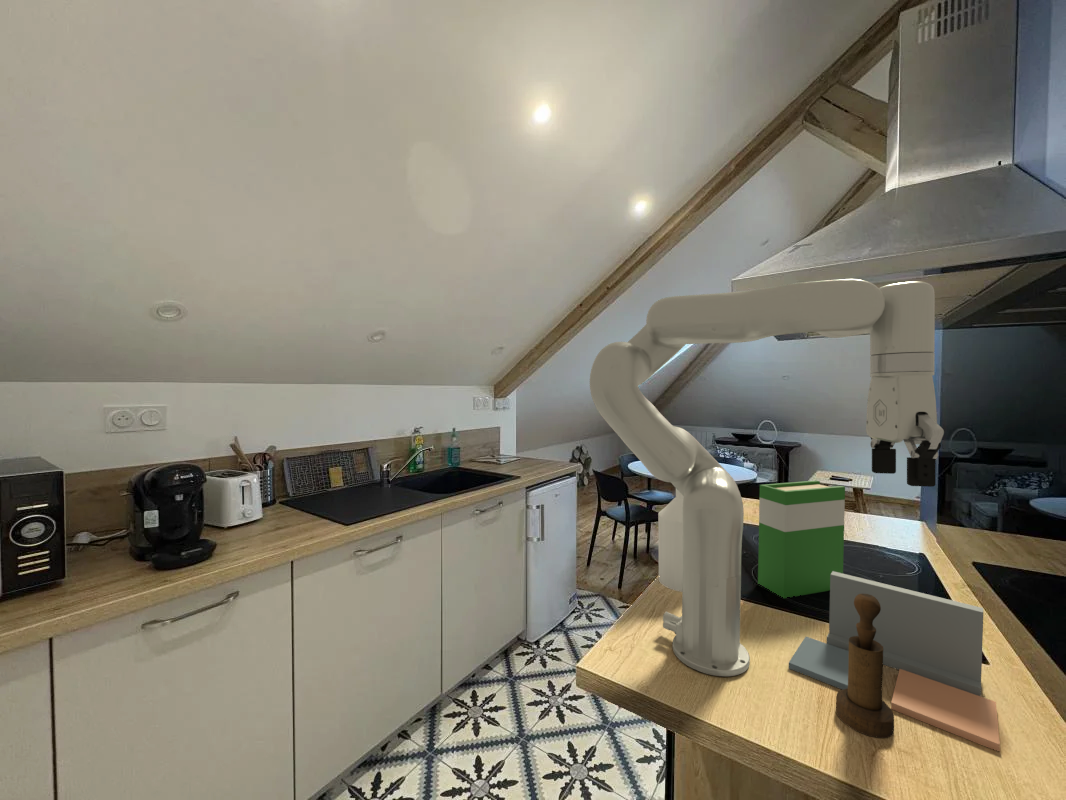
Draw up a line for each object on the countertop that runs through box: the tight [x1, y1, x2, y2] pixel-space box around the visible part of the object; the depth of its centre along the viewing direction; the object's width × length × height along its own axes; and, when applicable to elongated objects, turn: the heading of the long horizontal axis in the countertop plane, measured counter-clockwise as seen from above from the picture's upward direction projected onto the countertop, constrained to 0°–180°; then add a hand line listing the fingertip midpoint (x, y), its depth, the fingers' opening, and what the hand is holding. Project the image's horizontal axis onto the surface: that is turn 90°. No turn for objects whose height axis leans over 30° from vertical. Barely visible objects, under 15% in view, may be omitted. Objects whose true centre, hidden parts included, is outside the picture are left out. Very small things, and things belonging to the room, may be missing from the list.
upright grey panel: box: [826, 571, 984, 697], centre depth 77 cm, size 20×6×12 cm, turn 46°
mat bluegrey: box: [788, 636, 849, 690], centre depth 75 cm, size 11×11×1 cm
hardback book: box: [757, 479, 846, 599], centre depth 106 cm, size 18×7×24 cm, turn 107°
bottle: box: [657, 488, 684, 593], centre depth 108 cm, size 12×12×25 cm
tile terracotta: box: [890, 669, 1001, 752], centre depth 66 cm, size 11×11×1 cm
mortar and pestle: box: [835, 594, 895, 739], centre depth 63 cm, size 7×6×18 cm
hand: (901, 479), depth 68 cm, fingers open, 9 cm apart
